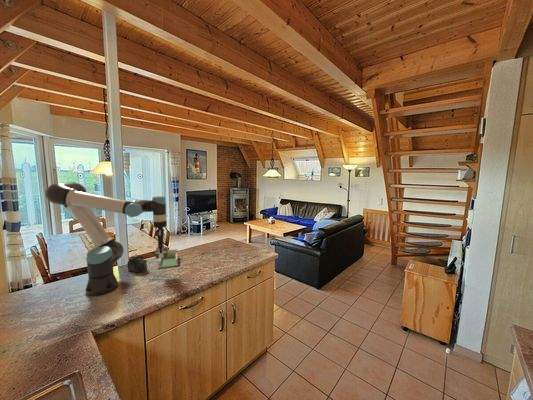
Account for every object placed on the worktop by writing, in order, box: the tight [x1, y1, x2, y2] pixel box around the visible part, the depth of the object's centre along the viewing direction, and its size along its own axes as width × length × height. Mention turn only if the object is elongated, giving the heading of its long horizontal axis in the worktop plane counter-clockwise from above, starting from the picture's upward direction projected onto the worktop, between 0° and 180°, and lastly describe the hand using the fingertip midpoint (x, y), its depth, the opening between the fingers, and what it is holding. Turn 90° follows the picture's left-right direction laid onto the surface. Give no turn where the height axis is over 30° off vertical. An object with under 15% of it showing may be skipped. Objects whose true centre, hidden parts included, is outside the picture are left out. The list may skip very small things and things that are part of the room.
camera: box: [127, 254, 148, 274], centre depth 159 cm, size 13×10×10 cm
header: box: [157, 248, 179, 270], centre depth 173 cm, size 20×13×7 cm, turn 21°
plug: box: [154, 246, 169, 260], centre depth 151 cm, size 7×6×5 cm
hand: (161, 255), depth 151 cm, fingers closed on plug, 6 cm apart
